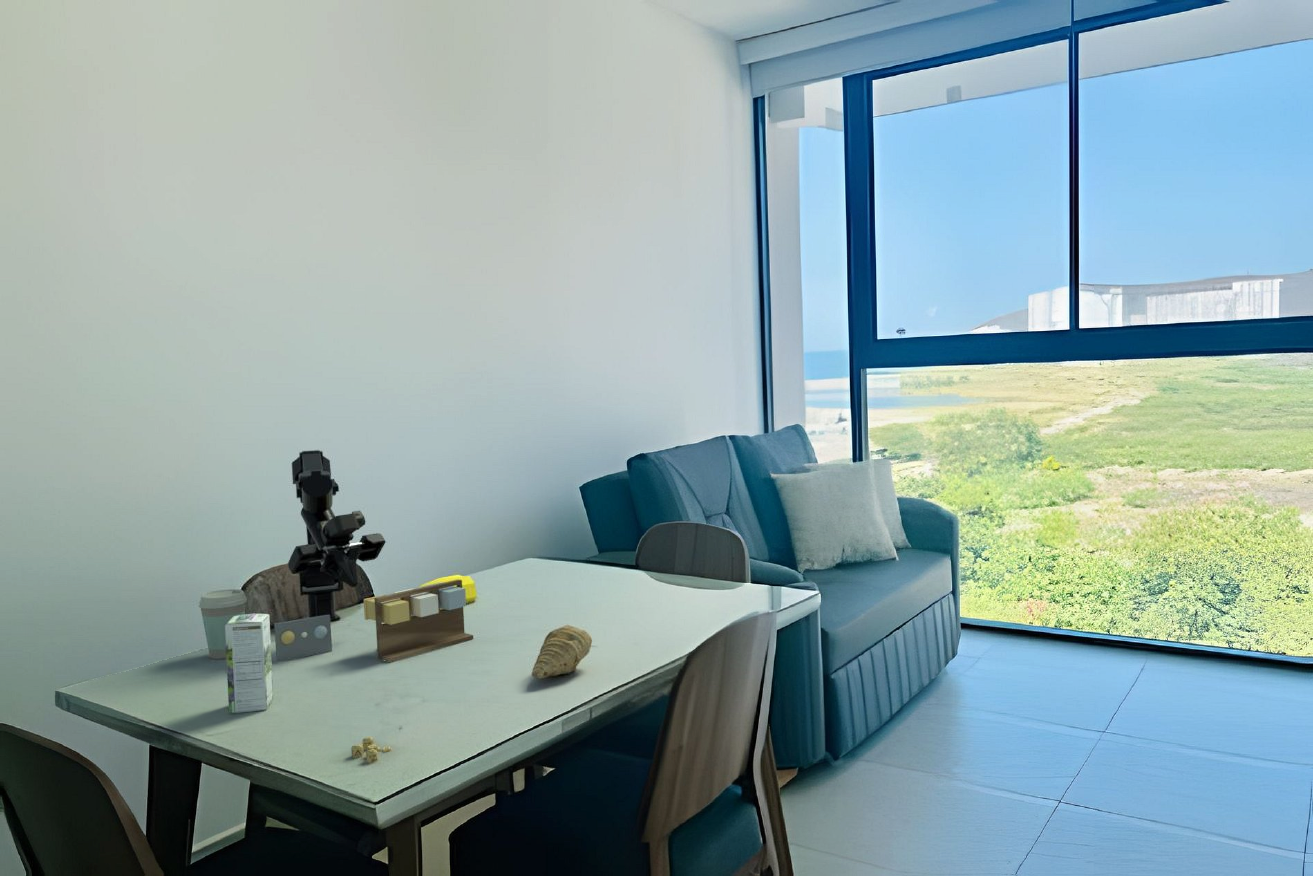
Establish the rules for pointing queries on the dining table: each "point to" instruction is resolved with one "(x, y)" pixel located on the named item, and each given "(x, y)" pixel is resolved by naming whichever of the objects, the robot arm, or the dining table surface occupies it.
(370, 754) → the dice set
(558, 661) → the seashell
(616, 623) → the dining table surface
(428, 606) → the middle button
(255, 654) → the syrup box
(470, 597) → the yellow curved piece
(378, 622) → the button board
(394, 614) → the left button
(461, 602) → the right button
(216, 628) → the coffee cup
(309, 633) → the card
